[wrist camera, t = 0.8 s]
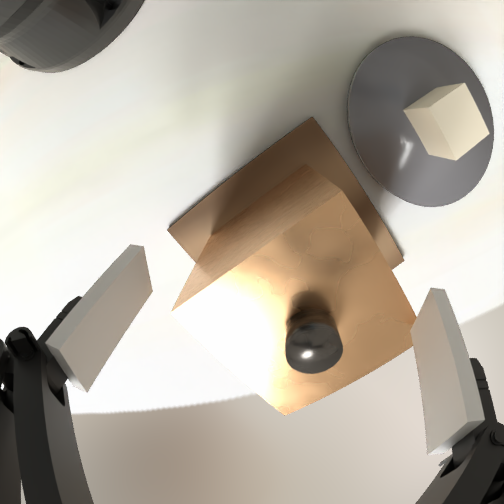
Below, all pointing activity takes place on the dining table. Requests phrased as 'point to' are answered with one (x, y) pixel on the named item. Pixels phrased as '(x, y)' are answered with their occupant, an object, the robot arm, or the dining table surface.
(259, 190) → the board
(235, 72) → the dining table surface
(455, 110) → the cake cube
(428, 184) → the plate
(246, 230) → the wooden cube with knob
